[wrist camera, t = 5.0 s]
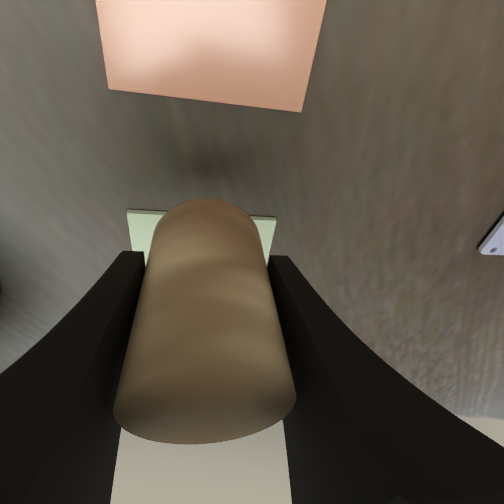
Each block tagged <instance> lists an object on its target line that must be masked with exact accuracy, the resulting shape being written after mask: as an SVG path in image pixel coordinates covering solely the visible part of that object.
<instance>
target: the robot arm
mask: <svg viewBox="0 0 504 504" xmlns="http://www.w3.org/2000/svg"><path fill="white" fill-rule="evenodd" d="M478 251H479V252H480V253H481V254H484V255H504V216H503V217H502V219H501V220H500V221H499V223H498V224H497V225H496V226H495V228H494V229H493V230H492V231H491V233H490V234H489V235H488V236H487V238H486V239H485V240H484V242H483V243H482V244H481V245H480V247H479V248H478ZM145 268H146V265H145V256H144V251H122V252H121V253H120V254H119V255H118V257H117V258H116V259H115V260H114V262H113V263H112V264H111V265H110V267H109V268H108V269H107V270H106V271H105V273H104V274H103V275H102V276H101V277H100V279H99V280H98V281H97V282H96V283H95V284H94V286H93V287H92V288H91V289H90V290H89V291H88V292H87V293H86V294H85V296H84V297H83V298H82V299H81V300H80V301H79V302H78V303H77V304H76V305H75V306H74V307H73V308H72V309H71V310H70V311H69V312H68V313H67V314H66V315H65V316H64V317H63V318H62V319H61V320H60V321H59V322H58V323H57V324H56V325H55V326H54V327H53V328H52V329H51V330H50V331H49V332H48V333H47V334H46V335H45V336H44V337H43V338H42V339H41V340H40V341H39V342H37V343H36V344H35V345H34V346H33V347H32V348H31V349H30V350H28V351H27V352H26V353H25V354H24V355H23V356H21V357H20V358H19V359H18V360H17V361H16V362H14V363H13V364H12V365H11V366H10V367H8V368H7V369H6V370H5V371H3V372H2V373H1V374H0V504H110V500H111V493H112V485H113V478H114V471H115V465H116V458H117V451H118V445H119V439H120V432H121V426H120V425H119V424H118V423H117V422H116V420H115V418H114V414H113V408H114V403H115V398H116V394H117V390H118V385H119V381H120V377H121V372H122V368H123V364H124V359H125V355H126V350H127V346H128V342H129V337H130V333H131V329H132V324H133V320H134V316H135V311H136V307H137V303H138V298H139V294H140V290H141V285H142V281H143V277H144V272H145ZM267 270H268V274H269V278H270V283H271V287H272V291H273V296H274V300H275V304H276V309H277V313H278V317H279V322H280V326H281V330H282V335H283V339H284V343H285V348H286V352H287V356H288V361H289V365H290V370H291V374H292V378H293V383H294V387H295V391H296V402H295V405H294V407H293V408H292V410H291V411H290V412H289V413H288V414H287V415H286V416H285V417H284V418H283V425H284V433H285V441H286V449H287V457H288V468H289V478H290V487H291V497H292V504H504V447H503V446H501V445H499V444H498V443H496V442H495V441H493V440H492V439H490V438H488V437H487V436H486V435H484V434H483V433H481V432H480V431H478V430H476V429H475V428H473V427H472V426H470V425H469V424H467V423H466V422H464V421H463V420H461V419H460V418H458V417H457V416H455V415H454V414H452V413H451V412H450V411H448V410H447V409H445V408H444V407H443V406H441V405H440V404H438V403H437V402H436V401H434V400H433V399H431V398H430V397H429V396H427V395H426V394H425V393H423V392H422V391H421V390H419V389H418V388H417V387H415V386H414V385H413V384H411V383H410V382H409V381H408V380H406V379H405V378H404V377H403V376H401V375H400V374H399V373H398V372H397V371H395V370H394V369H393V368H392V367H390V366H389V365H388V364H387V363H386V362H384V361H383V360H382V359H381V358H380V357H379V356H378V355H376V354H375V353H374V352H373V351H372V350H371V349H370V348H369V347H368V346H367V345H366V344H364V343H363V342H362V341H361V340H360V339H359V338H358V337H357V336H356V335H355V334H354V333H353V332H352V331H351V330H350V329H349V328H348V327H347V326H346V325H345V324H344V323H343V322H342V321H341V320H340V319H339V318H338V316H337V315H336V314H335V313H334V312H333V311H332V310H331V309H330V308H329V306H328V305H327V304H326V303H325V302H324V301H323V299H322V298H321V297H320V296H319V295H318V293H317V292H316V291H315V290H314V289H313V287H312V286H311V285H310V284H309V282H308V281H307V280H306V279H305V277H304V276H303V275H302V273H301V272H300V271H299V270H298V268H297V267H296V266H295V264H294V263H293V262H292V261H291V259H290V258H289V257H288V256H277V255H270V258H269V263H268V267H267Z"/></svg>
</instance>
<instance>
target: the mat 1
mask: <svg viewBox="0 0 504 504" xmlns="http://www.w3.org/2000/svg"><path fill="white" fill-rule="evenodd" d="M326 1H327V0H96V7H97V14H98V20H99V27H100V34H101V41H102V48H103V54H104V61H105V68H106V75H107V82H108V89H113V90H121V91H129V92H138V93H146V94H154V95H162V96H170V97H179V98H187V99H195V100H203V101H211V102H220V103H228V104H236V105H244V106H253V107H261V108H269V109H277V110H285V111H294V112H301V111H302V107H303V102H304V98H305V93H306V89H307V85H308V80H309V76H310V71H311V67H312V63H313V58H314V54H315V49H316V45H317V41H318V36H319V32H320V27H321V23H322V19H323V14H324V10H325V6H326Z"/></svg>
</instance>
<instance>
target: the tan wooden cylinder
mask: <svg viewBox="0 0 504 504" xmlns="http://www.w3.org/2000/svg"><path fill="white" fill-rule="evenodd" d="M295 402H296V391H295V387H294V383H293V378H292V374H291V370H290V365H289V361H288V356H287V352H286V348H285V343H284V339H283V335H282V330H281V326H280V322H279V317H278V313H277V309H276V304H275V300H274V296H273V291H272V287H271V283H270V278H269V274H268V270H267V265H266V261H265V257H264V252H263V248H262V244H261V239H260V235H259V231H258V228H257V226H256V224H255V222H254V221H253V220H252V218H251V217H250V216H249V215H248V214H247V213H246V212H245V211H243V210H242V209H240V208H239V207H237V206H235V205H233V204H231V203H228V202H225V201H221V200H215V199H197V200H191V201H187V202H184V203H182V204H179V205H177V206H175V207H173V208H172V209H171V210H169V211H168V212H167V213H166V214H164V215H163V216H162V218H161V219H160V220H159V222H158V223H157V225H156V227H155V230H154V233H153V237H152V242H151V246H150V250H149V255H148V259H147V264H146V268H145V272H144V277H143V281H142V285H141V290H140V294H139V298H138V303H137V307H136V311H135V316H134V320H133V324H132V329H131V333H130V337H129V342H128V346H127V350H126V355H125V359H124V364H123V368H122V372H121V377H120V381H119V385H118V390H117V394H116V398H115V403H114V408H113V414H114V418H115V420H116V422H117V423H118V424H119V425H120V426H121V427H122V428H123V429H125V430H126V431H128V432H130V433H131V434H133V435H136V436H138V437H141V438H144V439H147V440H152V441H156V442H162V443H171V444H207V443H216V442H222V441H228V440H233V439H237V438H241V437H245V436H248V435H251V434H254V433H256V432H259V431H261V430H264V429H266V428H268V427H270V426H272V425H274V424H276V423H277V422H279V421H280V420H281V419H283V418H284V417H285V416H286V415H287V414H288V413H289V412H290V411H291V410H292V408H293V407H294V405H295Z"/></svg>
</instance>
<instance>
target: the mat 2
mask: <svg viewBox="0 0 504 504" xmlns="http://www.w3.org/2000/svg"><path fill="white" fill-rule="evenodd" d="M166 213H167V212H164V211H146V210H128V211H127V218H128V225H129V232H130V238H131V245H132V251H144V256H145V265H146V264H147V259H148V255H149V250H150V246H151V242H152V237H153V233H154V230H155V227H156V225H157V223H158V222H159V220H160V219H161V218H162V216H163V215H164V214H166ZM250 217H251V218H252V220H253V221H254V222H255V224H256V226H257V228H258V231H259V235H260V239H261V244H262V248H263V252H264V257H265V261H266V265H267V261H268V256H269V252H270V247H271V243H272V239H273V234H274V230H275V225H276V218H275V217H257V216H250Z"/></svg>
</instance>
